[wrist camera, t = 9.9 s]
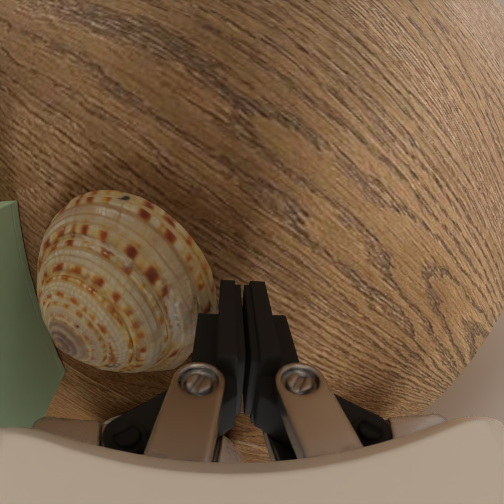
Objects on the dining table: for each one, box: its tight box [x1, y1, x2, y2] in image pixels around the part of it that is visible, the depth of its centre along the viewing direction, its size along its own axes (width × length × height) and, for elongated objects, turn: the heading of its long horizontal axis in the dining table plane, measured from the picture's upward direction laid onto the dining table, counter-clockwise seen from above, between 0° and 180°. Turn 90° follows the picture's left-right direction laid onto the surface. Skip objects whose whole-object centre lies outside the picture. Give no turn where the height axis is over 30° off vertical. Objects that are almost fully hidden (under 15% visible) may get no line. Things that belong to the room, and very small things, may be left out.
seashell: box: [37, 190, 219, 373], centre depth 10 cm, size 8×6×8 cm
